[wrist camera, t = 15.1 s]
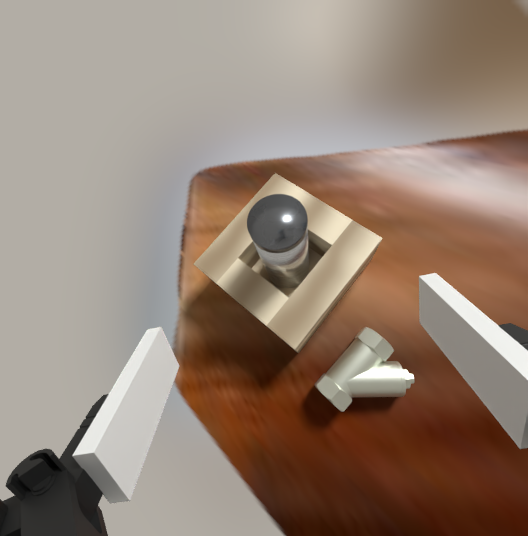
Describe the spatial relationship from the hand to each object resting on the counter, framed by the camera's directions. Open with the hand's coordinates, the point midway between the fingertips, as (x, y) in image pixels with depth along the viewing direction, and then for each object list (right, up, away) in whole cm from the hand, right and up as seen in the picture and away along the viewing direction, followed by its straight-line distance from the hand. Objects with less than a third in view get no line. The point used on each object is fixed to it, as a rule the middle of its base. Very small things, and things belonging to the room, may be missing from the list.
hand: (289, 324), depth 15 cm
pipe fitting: (+9, -9, +16) cm, 21 cm away
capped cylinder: (+2, +3, +20) cm, 21 cm away
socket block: (+2, +3, +21) cm, 22 cm away
